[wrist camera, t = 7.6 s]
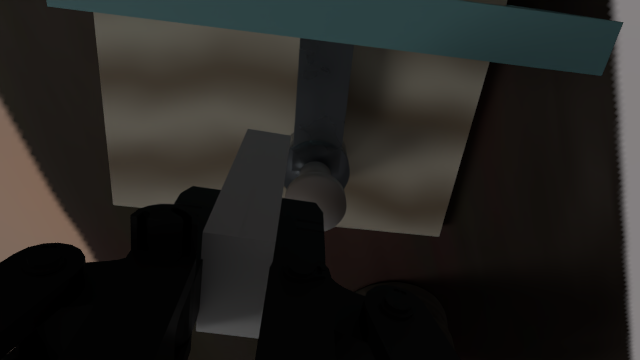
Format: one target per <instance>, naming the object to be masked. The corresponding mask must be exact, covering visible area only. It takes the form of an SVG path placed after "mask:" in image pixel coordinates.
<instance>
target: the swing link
mask: <svg viewBox="0 0 640 360" xmlns="http://www.w3.org/2000/svg"><path fill="white" fill-rule="evenodd" d="M353 49H354V45H352V44H344V43H336V42H328V41H320V40H312V39H304V38H300V49H299V64H298V80H297V95H296V110H295V126H294V132H293V133H292V134H291V135H290V136H291V140H290V147H289V154H288V161H287V167H286V174H285V181H284V186H285V188H286V189H287V188H288V186H289V184H290V183H291V182H292V181H293V180H294V179H295V178H296V177H298V176H299V173H300V170H301V168H302V167H303V166H304V165H305V164H307V163H309V162H314V161H317V162H321V163H323V164H325V165H326V166H327V167H328V168H329V169H330V172H331V176H333V177H334V178H336V179H337V180H338V181H339V182H340V183H341V185H342V187H343V188H345V187H346V185H347V183H348V180H349V176H350V167H349V162H348V156H347V151H346V146H345V143H344V141H343V134H344V125H345V117H346V108H347V100H348V91H349V83H350V75H351V66H352V58H353Z"/></svg>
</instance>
